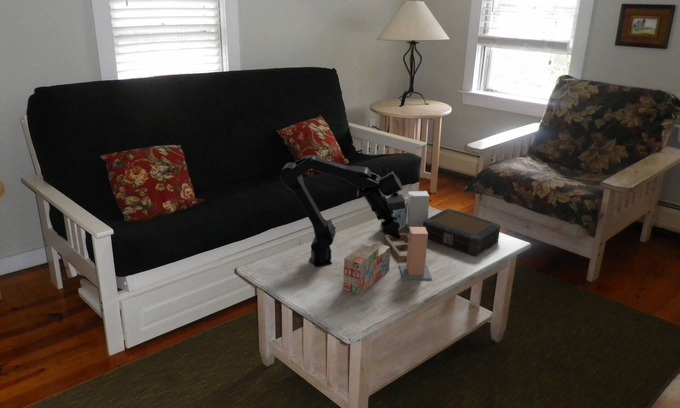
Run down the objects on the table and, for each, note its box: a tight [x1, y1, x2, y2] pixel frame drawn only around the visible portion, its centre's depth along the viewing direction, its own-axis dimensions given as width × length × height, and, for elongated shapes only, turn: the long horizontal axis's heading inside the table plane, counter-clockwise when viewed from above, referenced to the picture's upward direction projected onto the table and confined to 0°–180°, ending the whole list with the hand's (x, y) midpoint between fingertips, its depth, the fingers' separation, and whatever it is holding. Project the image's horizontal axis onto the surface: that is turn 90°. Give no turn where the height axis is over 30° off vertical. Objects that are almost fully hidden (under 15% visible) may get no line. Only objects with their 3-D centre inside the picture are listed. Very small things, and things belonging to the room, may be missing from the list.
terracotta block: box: [405, 227, 428, 275], centre depth 197 cm, size 6×6×16 cm
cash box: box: [423, 208, 501, 257], centre depth 225 cm, size 25×20×8 cm
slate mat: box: [398, 264, 433, 281], centre depth 200 cm, size 10×10×1 cm
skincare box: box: [406, 190, 430, 229], centre depth 235 cm, size 8×6×15 cm
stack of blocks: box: [342, 242, 391, 296], centre depth 193 cm, size 21×6×12 cm, turn 148°
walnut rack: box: [382, 232, 409, 262], centre depth 217 cm, size 10×19×2 cm, turn 14°
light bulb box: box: [379, 201, 408, 231], centre depth 234 cm, size 11×7×11 cm, turn 143°
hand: (396, 232), depth 202 cm, fingers open, 9 cm apart
